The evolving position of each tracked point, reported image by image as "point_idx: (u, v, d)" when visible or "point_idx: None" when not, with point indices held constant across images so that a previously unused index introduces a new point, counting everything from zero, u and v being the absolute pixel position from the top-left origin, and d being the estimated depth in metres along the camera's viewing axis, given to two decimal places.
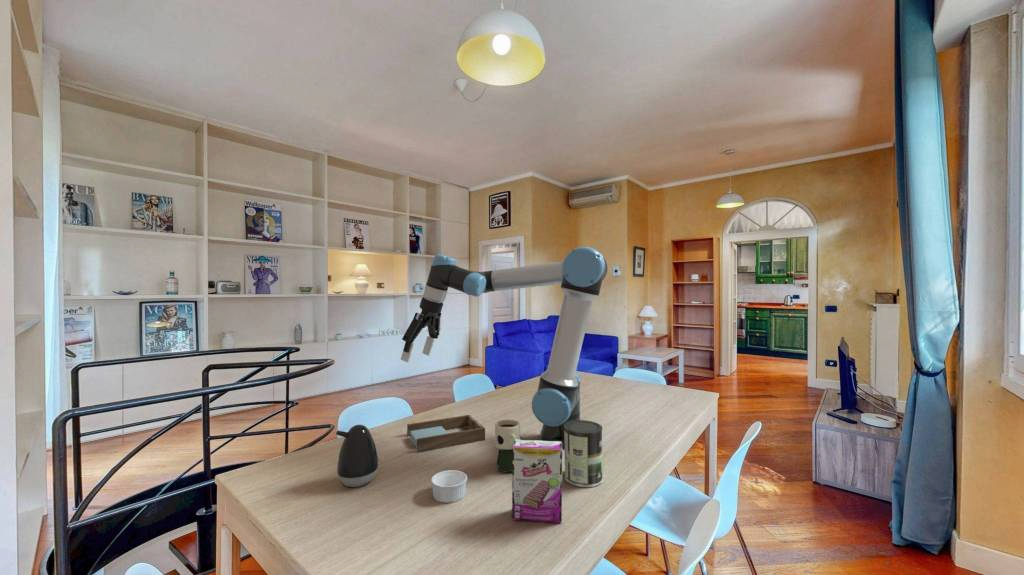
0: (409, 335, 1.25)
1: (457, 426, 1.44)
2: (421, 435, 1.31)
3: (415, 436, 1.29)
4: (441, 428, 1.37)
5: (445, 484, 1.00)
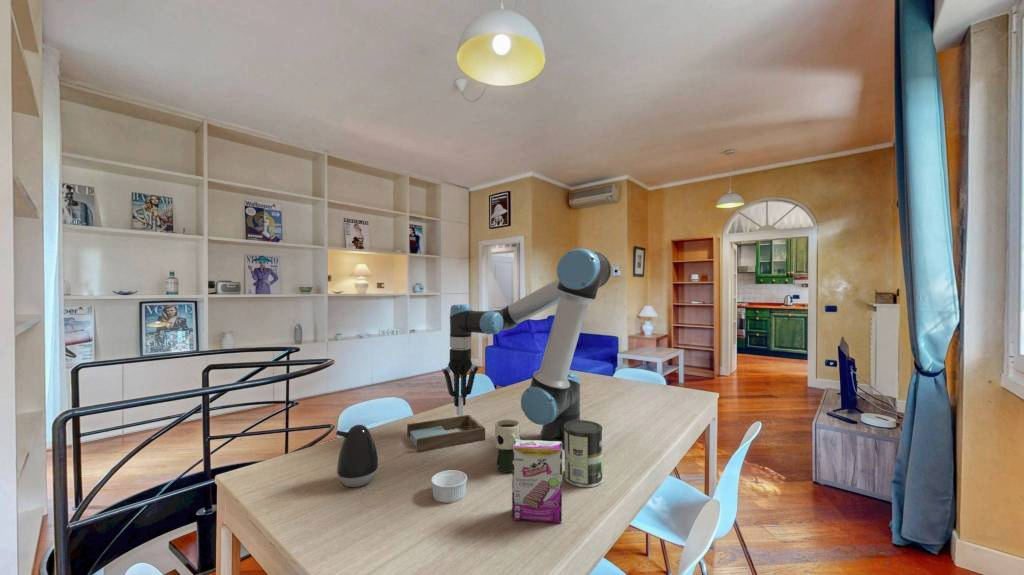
0: (449, 390, 1.35)
1: (457, 426, 1.44)
2: (421, 435, 1.31)
3: (415, 436, 1.29)
4: (441, 428, 1.37)
5: (445, 484, 1.00)
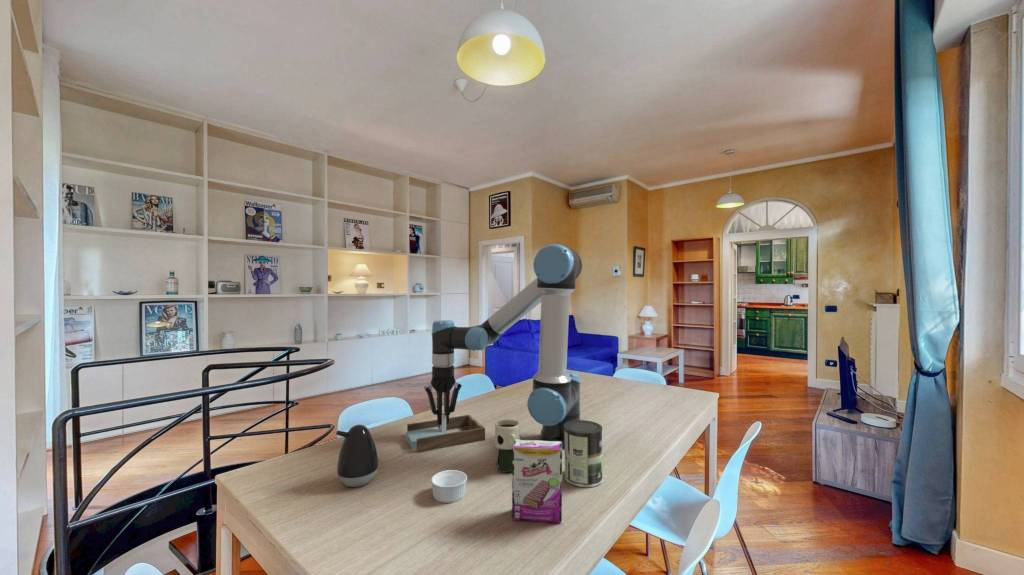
0: (432, 409, 1.32)
1: (457, 426, 1.44)
2: (416, 435, 1.30)
3: (410, 437, 1.29)
4: (437, 429, 1.36)
5: (446, 484, 1.00)
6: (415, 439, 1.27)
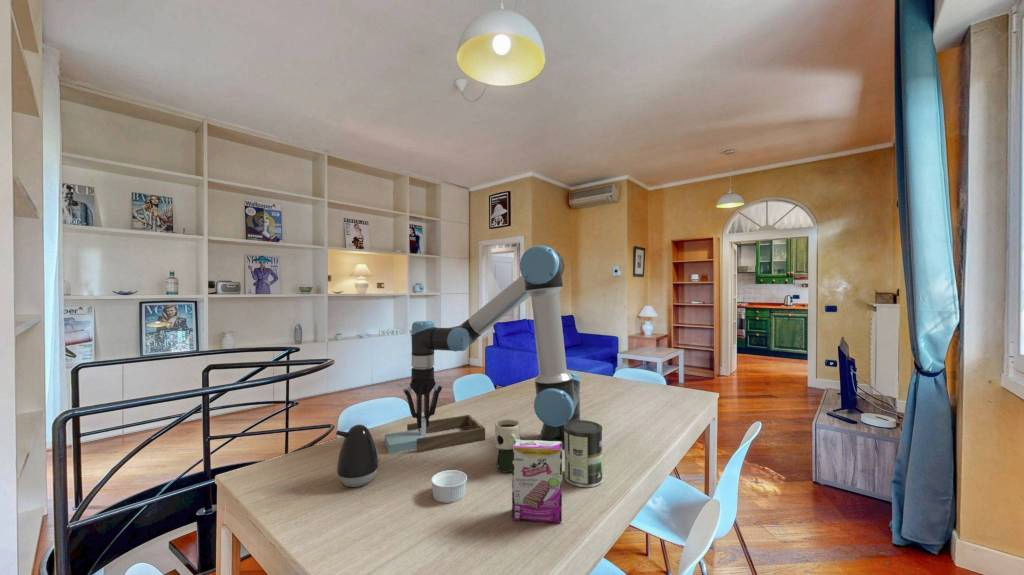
0: (411, 412, 1.29)
1: (457, 426, 1.44)
2: (394, 438, 1.27)
3: (388, 440, 1.26)
4: (416, 432, 1.33)
5: (446, 484, 1.00)
6: (393, 442, 1.24)
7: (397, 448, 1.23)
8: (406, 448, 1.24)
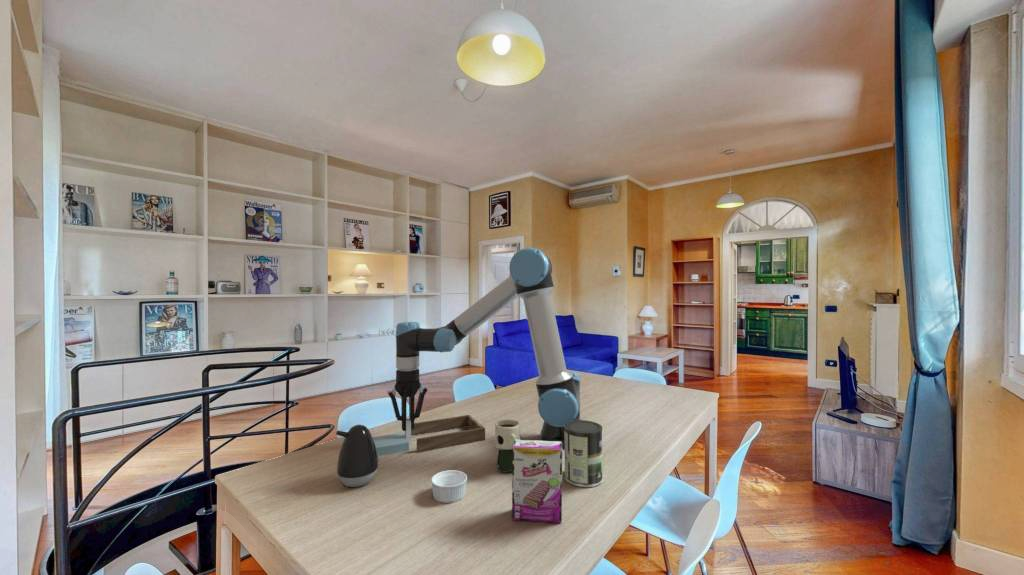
0: (395, 414, 1.27)
1: (457, 426, 1.44)
2: (378, 442, 1.25)
3: None
4: (402, 435, 1.31)
5: (446, 484, 1.00)
6: (376, 446, 1.21)
7: (381, 452, 1.21)
8: (390, 451, 1.22)
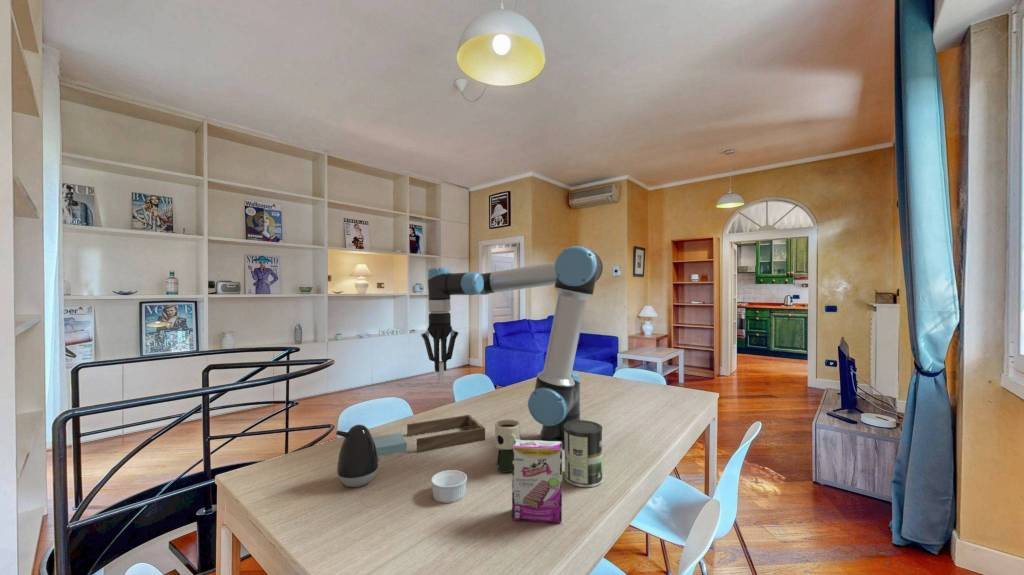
0: (429, 355, 1.32)
1: (457, 426, 1.44)
2: (376, 442, 1.24)
3: None
4: (399, 435, 1.30)
5: (446, 484, 1.00)
6: None
7: (379, 452, 1.20)
8: (388, 452, 1.21)
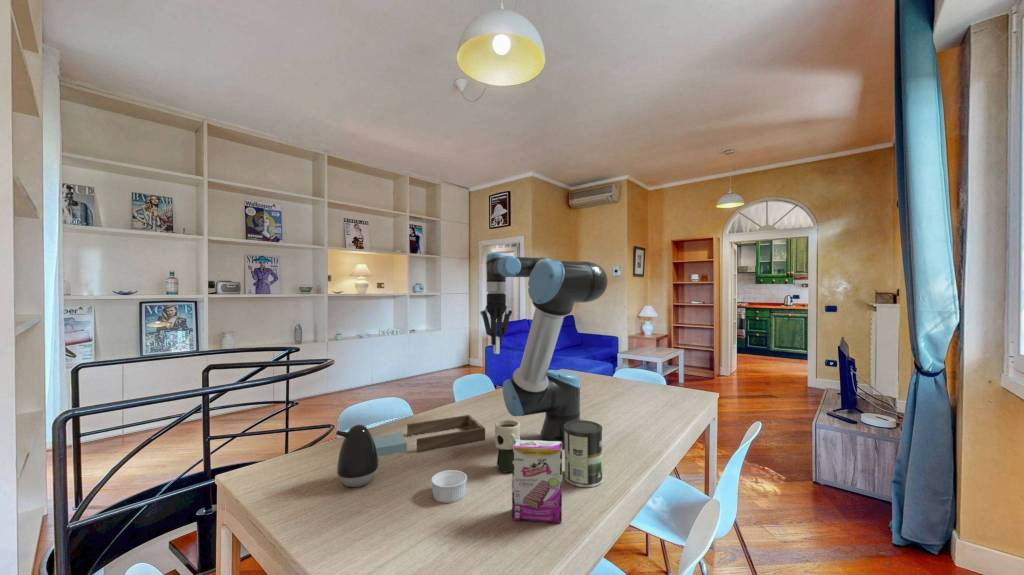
0: (487, 330, 1.50)
1: (457, 426, 1.44)
2: (376, 442, 1.24)
3: None
4: (399, 435, 1.30)
5: (446, 484, 1.00)
6: None
7: (379, 452, 1.20)
8: (388, 452, 1.21)
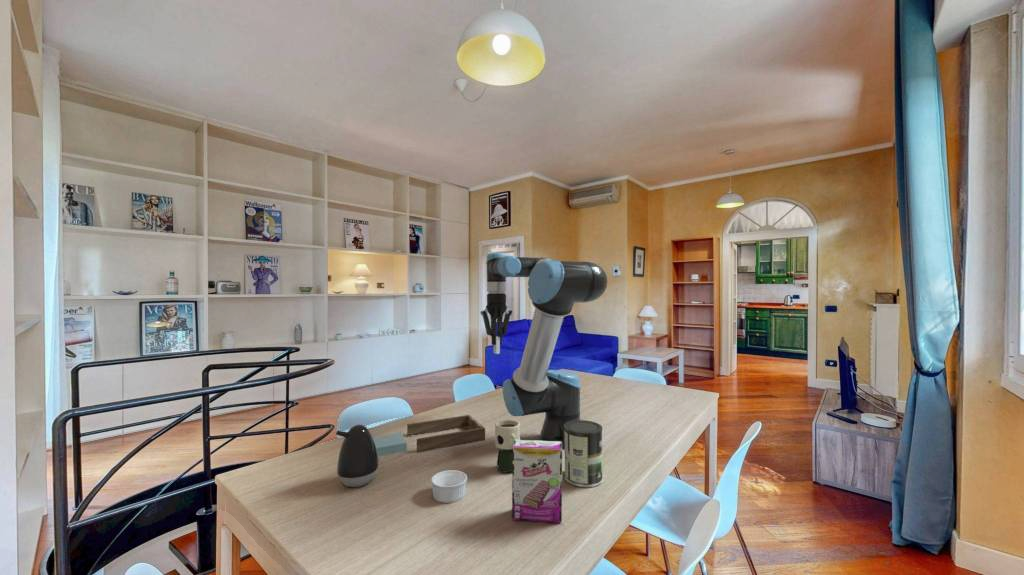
0: (487, 330, 1.50)
1: (457, 426, 1.44)
2: (376, 442, 1.24)
3: None
4: (399, 435, 1.30)
5: (446, 484, 1.00)
6: None
7: (378, 452, 1.20)
8: (388, 452, 1.21)
